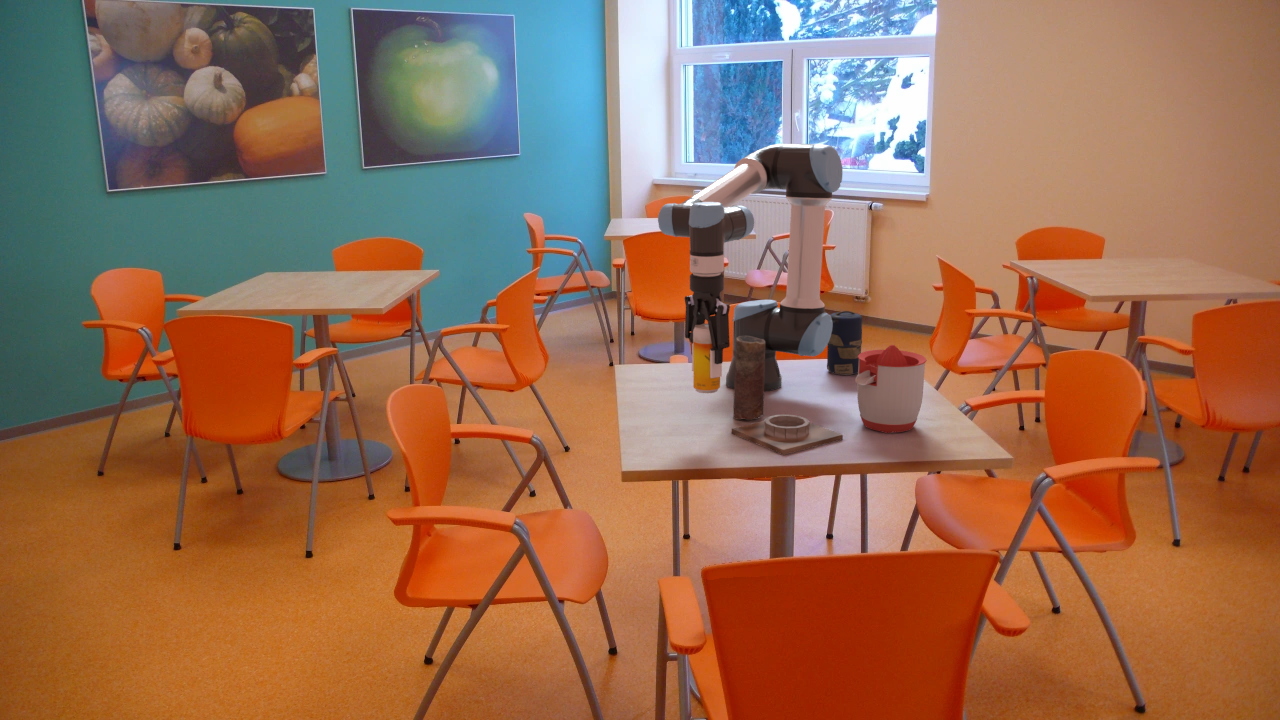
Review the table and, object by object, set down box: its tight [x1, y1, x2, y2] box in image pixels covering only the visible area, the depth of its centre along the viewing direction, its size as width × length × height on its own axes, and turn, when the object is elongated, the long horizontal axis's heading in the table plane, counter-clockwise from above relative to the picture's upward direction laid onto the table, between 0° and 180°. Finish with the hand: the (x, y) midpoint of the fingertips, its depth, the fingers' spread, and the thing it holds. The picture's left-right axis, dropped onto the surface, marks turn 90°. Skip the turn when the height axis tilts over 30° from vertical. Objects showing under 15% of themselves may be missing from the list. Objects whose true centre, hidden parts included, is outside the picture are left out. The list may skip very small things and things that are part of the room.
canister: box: [826, 310, 863, 376], centre depth 280 cm, size 10×10×18 cm
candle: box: [733, 336, 765, 421], centre depth 240 cm, size 8×7×20 cm
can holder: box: [731, 414, 844, 456], centre depth 228 cm, size 18×18×4 cm
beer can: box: [692, 323, 721, 394], centre depth 224 cm, size 6×6×15 cm
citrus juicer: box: [854, 344, 927, 434], centre depth 232 cm, size 16×17×20 cm
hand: (706, 373), depth 225 cm, fingers closed on beer can, 6 cm apart
